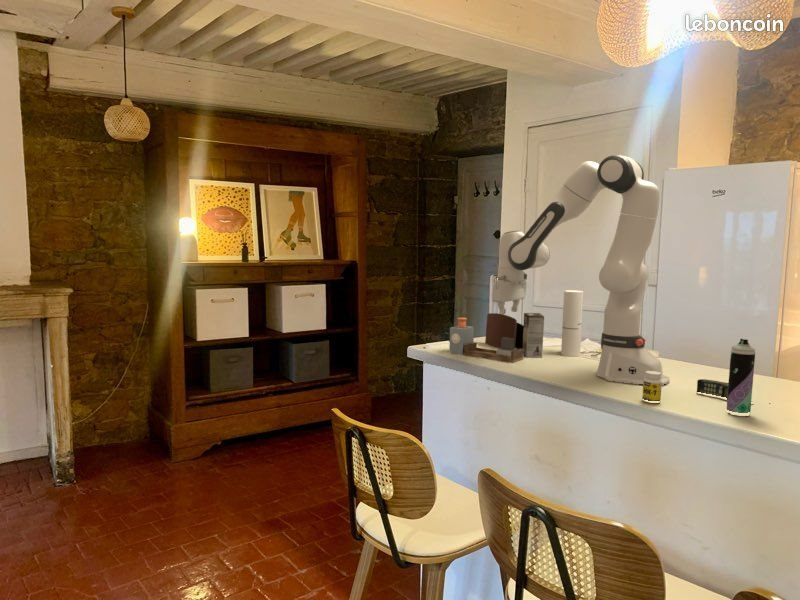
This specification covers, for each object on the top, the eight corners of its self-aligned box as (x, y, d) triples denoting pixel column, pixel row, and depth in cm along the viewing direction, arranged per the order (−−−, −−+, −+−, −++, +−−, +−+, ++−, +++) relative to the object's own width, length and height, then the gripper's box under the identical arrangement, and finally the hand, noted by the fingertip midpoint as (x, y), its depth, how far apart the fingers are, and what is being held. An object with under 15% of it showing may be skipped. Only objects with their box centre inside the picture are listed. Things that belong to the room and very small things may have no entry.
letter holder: (513, 352, 235) (515, 317, 233) (484, 344, 252) (485, 311, 251) (533, 350, 239) (535, 316, 238) (503, 342, 257) (504, 310, 255)
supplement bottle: (639, 401, 166) (641, 372, 165) (645, 398, 169) (646, 369, 168) (657, 405, 163) (659, 375, 162) (662, 401, 166) (664, 372, 165)
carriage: (518, 356, 220) (519, 338, 219) (510, 359, 215) (511, 340, 215) (503, 354, 224) (504, 336, 223) (496, 356, 219) (496, 338, 218)
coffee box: (521, 352, 233) (523, 312, 232) (538, 353, 233) (539, 312, 231) (526, 357, 224) (527, 315, 222) (543, 357, 224) (545, 316, 222)
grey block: (473, 352, 233) (473, 327, 232) (461, 355, 227) (462, 329, 226) (460, 350, 237) (460, 325, 236) (448, 353, 230) (449, 327, 229)
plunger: (468, 334, 231) (468, 318, 231) (463, 335, 229) (463, 319, 228) (460, 333, 234) (460, 317, 233) (455, 334, 231) (455, 318, 230)
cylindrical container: (584, 355, 230) (587, 291, 227) (571, 357, 226) (575, 292, 223) (569, 352, 236) (572, 290, 233) (557, 354, 232) (560, 290, 229)
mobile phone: (696, 378, 175) (751, 388, 163) (700, 377, 176) (755, 386, 165) (695, 395, 175) (750, 405, 163) (699, 393, 177) (754, 404, 165)
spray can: (727, 415, 154) (733, 339, 152) (724, 409, 159) (730, 336, 157) (751, 418, 152) (758, 341, 150) (747, 412, 157) (754, 338, 155)
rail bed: (523, 359, 220) (523, 349, 220) (513, 363, 214) (513, 352, 213) (474, 352, 233) (474, 342, 232) (463, 355, 227) (463, 344, 226)
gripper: (504, 277, 206) (502, 316, 208) (530, 274, 222) (528, 311, 224) (488, 276, 210) (486, 314, 212) (514, 273, 226) (513, 309, 228)
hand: (508, 312), depth 218 cm, fingers open, 8 cm apart
